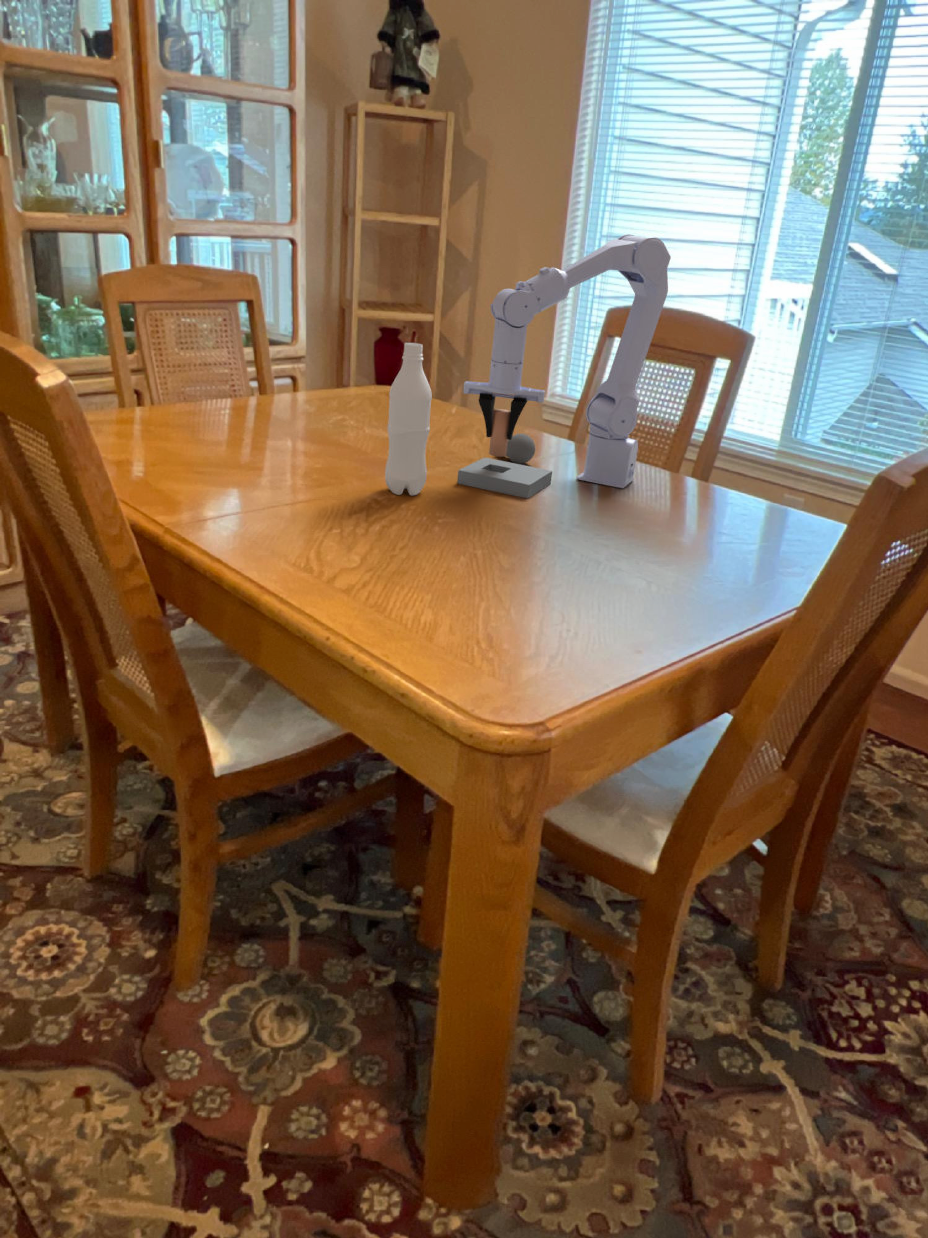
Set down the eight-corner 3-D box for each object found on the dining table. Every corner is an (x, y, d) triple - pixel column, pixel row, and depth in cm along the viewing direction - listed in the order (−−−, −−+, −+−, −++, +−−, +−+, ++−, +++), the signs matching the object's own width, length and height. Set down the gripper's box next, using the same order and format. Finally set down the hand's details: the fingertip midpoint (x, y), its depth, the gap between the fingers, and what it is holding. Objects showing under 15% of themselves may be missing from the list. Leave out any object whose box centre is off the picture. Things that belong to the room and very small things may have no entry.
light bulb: (515, 444, 187) (546, 443, 179) (503, 469, 186) (533, 469, 178) (496, 428, 183) (526, 427, 175) (483, 453, 182) (513, 453, 174)
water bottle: (419, 500, 152) (429, 349, 141) (379, 494, 153) (386, 344, 143) (429, 489, 158) (439, 344, 148) (390, 483, 159) (398, 339, 149)
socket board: (550, 483, 168) (552, 470, 167) (527, 498, 158) (529, 484, 157) (483, 469, 173) (484, 457, 172) (457, 483, 163) (458, 470, 162)
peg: (506, 453, 166) (511, 410, 162) (505, 457, 163) (510, 413, 159) (489, 451, 166) (494, 408, 163) (488, 455, 163) (492, 411, 160)
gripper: (549, 362, 160) (540, 437, 166) (470, 353, 162) (464, 427, 167) (546, 368, 154) (536, 445, 159) (464, 358, 155) (457, 435, 161)
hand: (499, 437), depth 163 cm, fingers closed on peg, 3 cm apart
